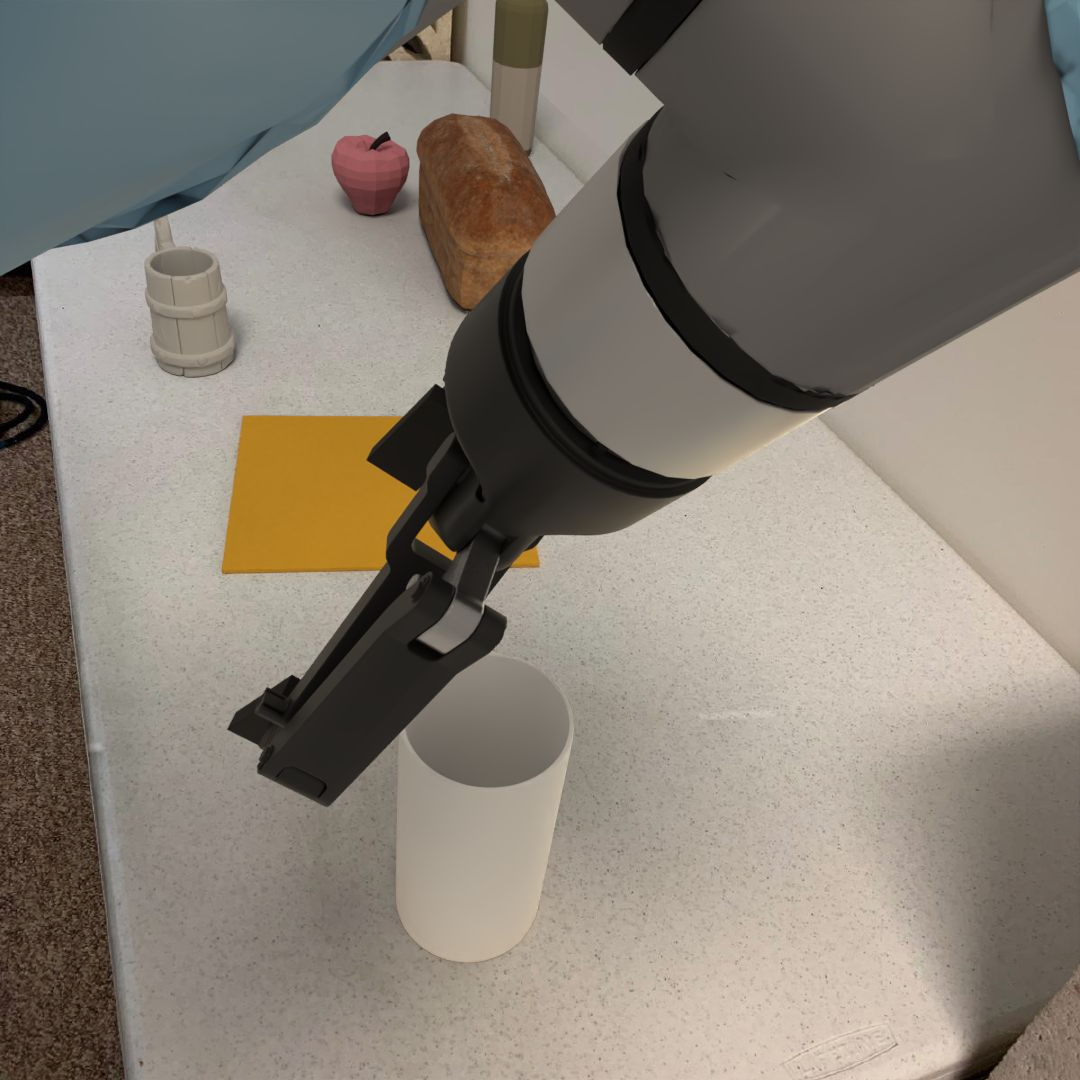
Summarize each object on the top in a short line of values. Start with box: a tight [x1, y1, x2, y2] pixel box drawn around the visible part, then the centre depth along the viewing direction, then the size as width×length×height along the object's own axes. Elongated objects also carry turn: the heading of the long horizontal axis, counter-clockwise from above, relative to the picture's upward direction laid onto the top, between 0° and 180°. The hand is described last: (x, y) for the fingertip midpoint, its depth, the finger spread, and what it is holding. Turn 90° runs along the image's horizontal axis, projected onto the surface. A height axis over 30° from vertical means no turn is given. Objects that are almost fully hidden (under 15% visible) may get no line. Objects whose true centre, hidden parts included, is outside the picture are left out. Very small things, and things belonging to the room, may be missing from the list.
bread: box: [415, 112, 557, 311], centre depth 111 cm, size 12×28×14 cm, turn 15°
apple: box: [330, 130, 411, 216], centre depth 120 cm, size 10×9×10 cm
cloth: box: [221, 414, 541, 574], centre depth 83 cm, size 24×20×1 cm
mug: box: [143, 215, 237, 378], centre depth 92 cm, size 8×12×12 cm, turn 31°
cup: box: [395, 652, 575, 964], centre depth 52 cm, size 8×8×16 cm
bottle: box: [489, 0, 549, 156], centre depth 133 cm, size 7×7×30 cm
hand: (333, 592), depth 42 cm, fingers open, 13 cm apart
